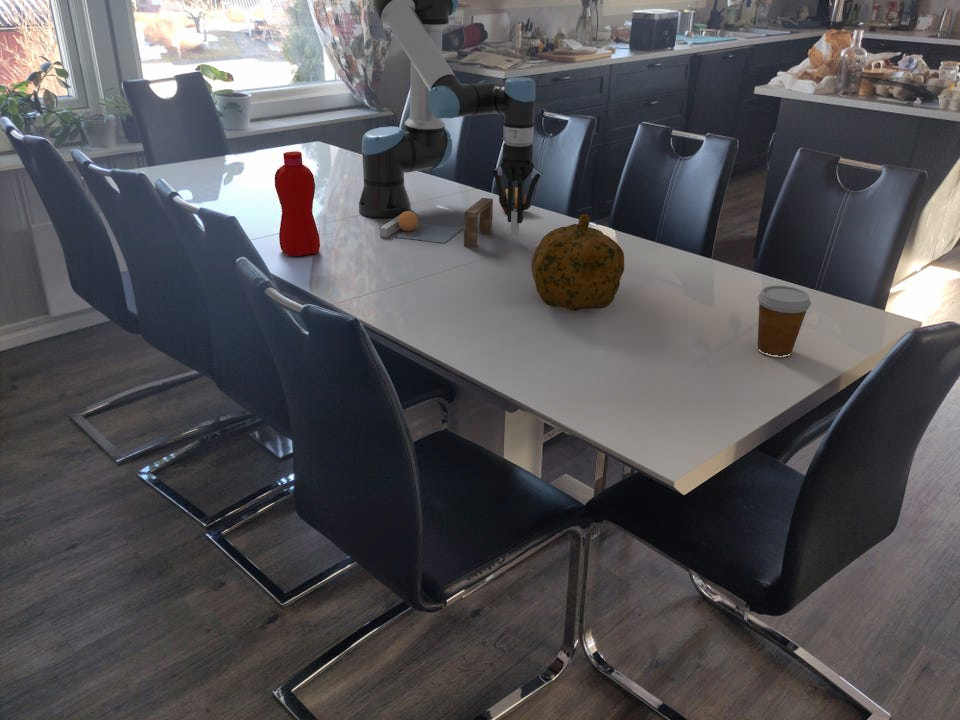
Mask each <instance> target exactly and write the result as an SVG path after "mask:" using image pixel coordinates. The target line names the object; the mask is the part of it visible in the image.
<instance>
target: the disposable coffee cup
mask: <svg viewBox="0 0 960 720" xmlns="http://www.w3.org/2000/svg"><path fill="white" fill-rule="evenodd" d="M757 300H758V303H759V306H758V324H757V325H758V326H757V327H758V328H757V346H758V349H760V350H761V351H762V352H764V353H768V354H771V355H778V356H783V355H788V354H790V353H791V352H793V351H794V347H795V344H796V342H797V339H798V336H799V333H800V331H801V327H802V325H803V321H804V319H805V316H806V314H807V310H808V309H809V307H811V306H812V302H811V300H810V295H809V293H808V292H806V291H804V290H803V289H799V288H797V287H793V286H789V285H788V286H787V285H768V286H765V287H763V288H762V289H761V291H760V293H759V294H758V295H757ZM758 349H757V350H758ZM791 354H792V353H791Z"/></svg>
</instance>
